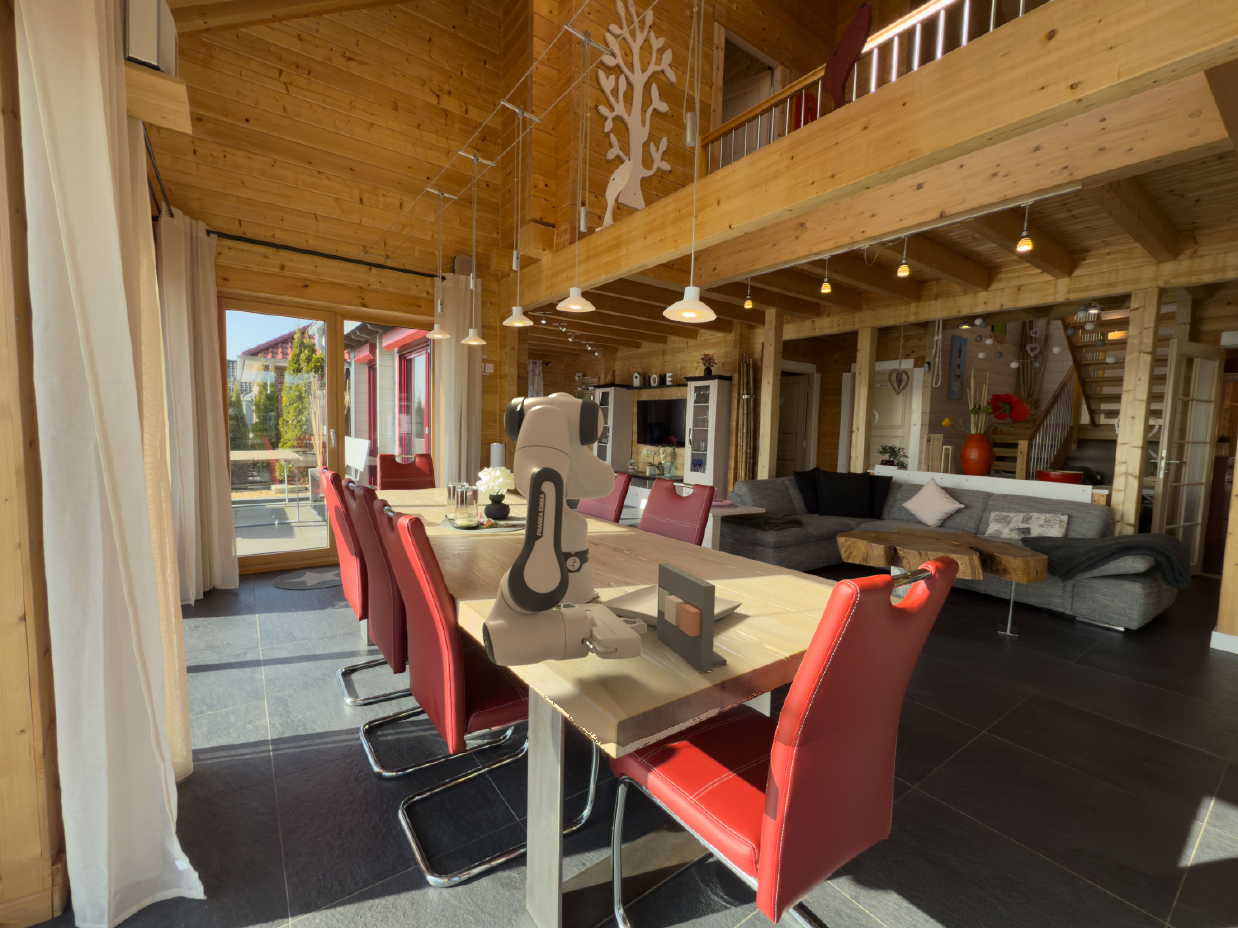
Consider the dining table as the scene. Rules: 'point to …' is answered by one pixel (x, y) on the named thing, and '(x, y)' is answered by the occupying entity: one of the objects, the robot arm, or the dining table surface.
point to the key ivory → (673, 608)
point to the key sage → (662, 598)
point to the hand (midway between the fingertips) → (643, 625)
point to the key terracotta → (690, 620)
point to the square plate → (656, 605)
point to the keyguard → (702, 597)
